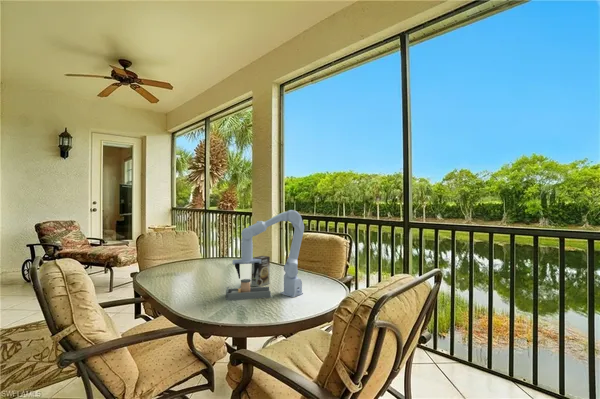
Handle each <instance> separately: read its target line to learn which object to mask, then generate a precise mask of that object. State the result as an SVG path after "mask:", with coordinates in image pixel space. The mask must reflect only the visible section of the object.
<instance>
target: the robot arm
mask: <svg viewBox="0 0 600 399" xmlns="http://www.w3.org/2000/svg"><path fill="white" fill-rule="evenodd" d="M279 222H289V223H290V224H291V225H292V227H293V228H294V231H293V236H292V240H291V243H290V244H291V245H290V249H289V254H288V258H287V259H286V262H285V264H284V266H283V271H284V274H283V291H280V292H279V293H280V294H281V295H284V296H288V297H290V298H291V297H292V298H295V297H298V296H301V295H303V294H304V293H303V282H302V280H301V279H300V278H299V277H298V273H299V271H298V270H299V269H298V258H299V255H300V249H301V246H302V242H303V237H304V236H303V235H304V233H305V224H304V221H303V218H302V215H301V214H300V212H298V211H297V210H294V209H288V210H287V211H283V212H281V213H277V215H275V216H273V217H271V218H269V219H267V220H265V221H263V220H257V221H256V223H254V224H252V225H248V226H247V227H245V228H243V229H242V231H241V234H240V235H241V248H240V249H241V254H240V256H241V258H240V259H232V265H234V267H235V269H236V273H237V275H238V279H240V280H241V270H240V266H241V265H247V264H251V265H252V264H253V263H254V278H255V276H256V272H257V269H258V267H259V264H260V263H261V259H253V256H254V255H253V254H254V253H253V250H254V248H253V247H254V245H253V244H254V242H253V237H256V236H258V235H260V234H262V233H264V232H266V231H267V229H268V227H271V226H273V225H275V224H277V223H279Z"/></svg>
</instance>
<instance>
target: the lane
mask: <svg viewBox="0 0 600 399" xmlns="http://www.w3.org/2000/svg"><path fill="white" fill-rule="evenodd" d="M238 289H241V287H240V288H239V287H237V288H229V286H226V289H225V300H226V301H234V300H235V301H237V300H251V299H252V300H253V299H267V298H269V299H270V298H273V295H272V292H271V290H270V286H261V287H256V286H254V287H250V292H241V293H231V292H232V291H238Z"/></svg>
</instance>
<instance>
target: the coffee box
mask: <svg viewBox="0 0 600 399" xmlns="http://www.w3.org/2000/svg"><path fill="white" fill-rule="evenodd" d="M253 259H261V263H260V264H259V267H258V269H257V272H256V276H255V278H254V263H253V264H251V278H250V280H251V281H250V286H254V287H265V286H266V285H269V284H270V272H271V271H270V263H271V262H270V260H271V258H270V256H267V255H258V256H254V257H253Z"/></svg>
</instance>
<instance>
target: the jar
mask: <svg viewBox="0 0 600 399" xmlns="http://www.w3.org/2000/svg"><path fill="white" fill-rule="evenodd" d="M240 288H241V292H250V288H251V278H243V279H240Z"/></svg>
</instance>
